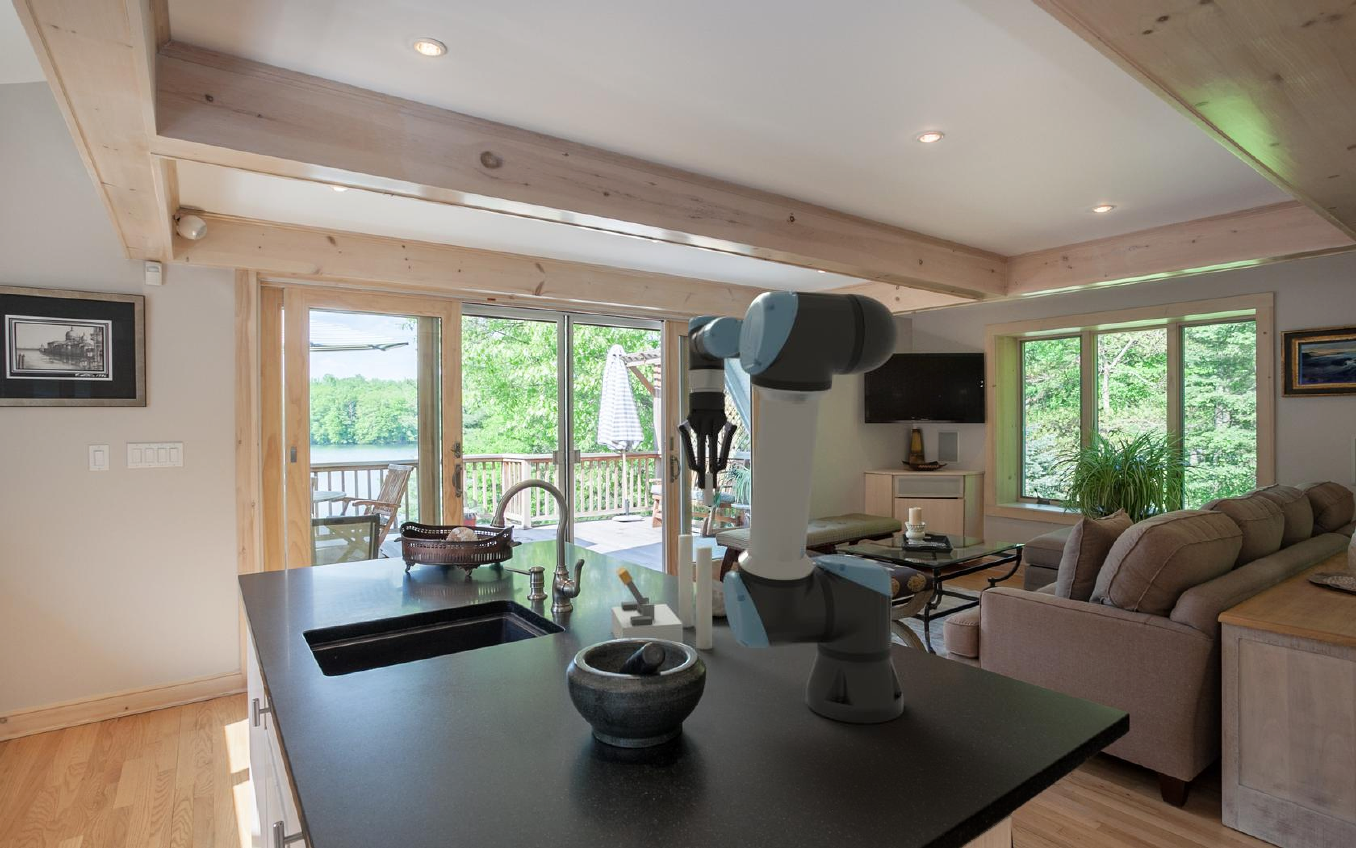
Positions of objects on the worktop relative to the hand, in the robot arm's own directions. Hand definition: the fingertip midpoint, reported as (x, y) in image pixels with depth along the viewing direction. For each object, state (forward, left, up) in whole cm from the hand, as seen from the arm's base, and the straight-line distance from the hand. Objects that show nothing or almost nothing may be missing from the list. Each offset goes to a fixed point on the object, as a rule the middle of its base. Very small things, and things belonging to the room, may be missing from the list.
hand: (707, 504), depth 150 cm
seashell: (+18, -7, -28) cm, 34 cm away
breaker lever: (+3, +13, -22) cm, 25 cm away
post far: (+11, +2, -28) cm, 30 cm away
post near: (-5, +2, -28) cm, 29 cm away
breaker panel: (+3, +13, -28) cm, 31 cm away
